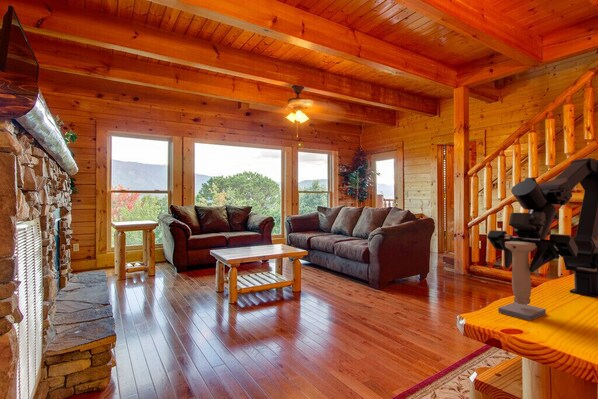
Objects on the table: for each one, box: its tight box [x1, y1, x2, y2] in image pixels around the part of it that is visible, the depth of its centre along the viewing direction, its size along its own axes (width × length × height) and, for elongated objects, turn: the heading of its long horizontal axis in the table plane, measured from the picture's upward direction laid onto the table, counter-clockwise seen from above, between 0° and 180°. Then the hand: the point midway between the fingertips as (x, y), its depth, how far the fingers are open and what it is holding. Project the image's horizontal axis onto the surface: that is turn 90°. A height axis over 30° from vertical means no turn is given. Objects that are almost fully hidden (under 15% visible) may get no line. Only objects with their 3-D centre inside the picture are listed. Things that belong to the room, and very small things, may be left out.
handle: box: [505, 241, 537, 305], centre depth 81 cm, size 5×6×15 cm
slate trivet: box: [497, 301, 547, 322], centre depth 81 cm, size 8×7×1 cm
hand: (517, 269), depth 81 cm, fingers closed on handle, 5 cm apart
